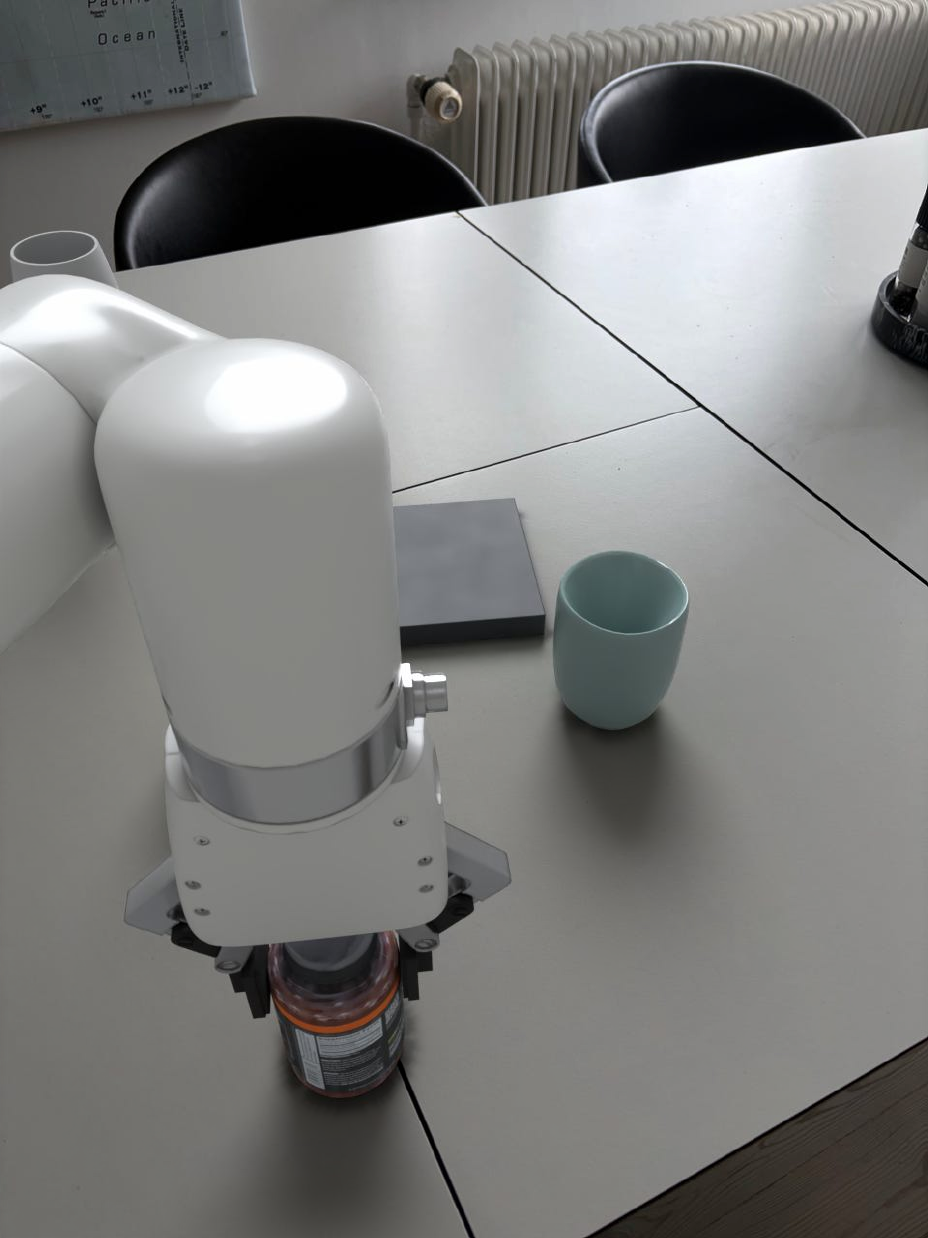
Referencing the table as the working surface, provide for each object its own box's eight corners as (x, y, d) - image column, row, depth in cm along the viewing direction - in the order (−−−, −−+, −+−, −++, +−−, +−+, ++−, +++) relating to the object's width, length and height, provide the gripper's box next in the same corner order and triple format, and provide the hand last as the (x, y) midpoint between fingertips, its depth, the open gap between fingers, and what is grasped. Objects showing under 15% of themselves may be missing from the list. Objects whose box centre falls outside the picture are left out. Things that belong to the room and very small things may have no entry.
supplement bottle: (289, 989, 52) (263, 866, 45) (403, 982, 53) (397, 859, 45) (282, 1108, 48) (252, 994, 40) (407, 1099, 48) (400, 985, 41)
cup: (525, 697, 67) (532, 585, 61) (606, 645, 71) (621, 533, 64) (609, 767, 63) (627, 655, 56) (690, 708, 67) (716, 596, 60)
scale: (315, 657, 70) (309, 620, 68) (312, 531, 81) (308, 495, 78) (545, 637, 72) (548, 601, 69) (513, 516, 82) (515, 480, 80)
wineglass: (61, 491, 84) (-22, 245, 70) (143, 457, 88) (80, 217, 74) (103, 533, 80) (24, 281, 66) (187, 495, 84) (130, 249, 70)
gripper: (528, 617, 37) (511, 887, 49) (44, 657, 35) (151, 925, 48) (569, 780, 31) (538, 1037, 44) (-3, 835, 30) (132, 1086, 42)
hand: (336, 977), depth 46 cm, fingers closed on supplement bottle, 6 cm apart
